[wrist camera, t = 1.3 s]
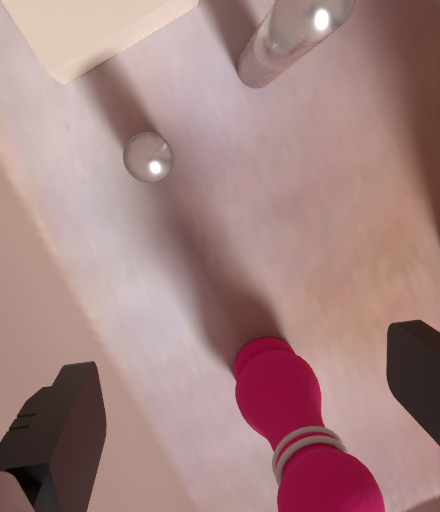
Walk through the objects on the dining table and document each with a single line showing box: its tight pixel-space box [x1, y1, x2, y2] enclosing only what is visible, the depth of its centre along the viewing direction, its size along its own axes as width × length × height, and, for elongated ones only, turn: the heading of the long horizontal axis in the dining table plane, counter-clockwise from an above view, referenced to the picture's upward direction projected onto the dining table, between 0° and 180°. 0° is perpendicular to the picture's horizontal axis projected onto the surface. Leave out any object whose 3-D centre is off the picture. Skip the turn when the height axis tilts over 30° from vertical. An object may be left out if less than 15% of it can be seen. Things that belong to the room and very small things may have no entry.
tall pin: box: [237, 0, 355, 88], centre depth 25 cm, size 3×3×14 cm
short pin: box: [123, 132, 173, 183], centre depth 29 cm, size 3×3×7 cm
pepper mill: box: [234, 337, 385, 512], centre depth 28 cm, size 7×7×20 cm
